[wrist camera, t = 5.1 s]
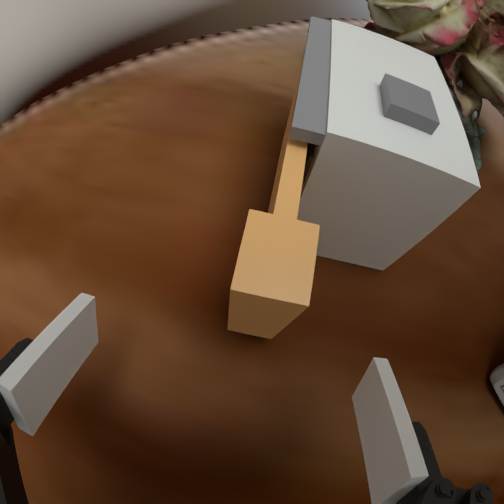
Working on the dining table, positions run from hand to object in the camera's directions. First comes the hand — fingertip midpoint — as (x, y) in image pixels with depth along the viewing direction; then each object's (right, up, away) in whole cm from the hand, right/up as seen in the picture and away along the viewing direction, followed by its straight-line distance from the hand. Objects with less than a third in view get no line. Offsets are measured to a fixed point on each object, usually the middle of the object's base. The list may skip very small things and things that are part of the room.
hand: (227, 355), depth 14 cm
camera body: (+9, +10, +14) cm, 20 cm away
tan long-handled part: (+3, +7, +11) cm, 13 cm away
